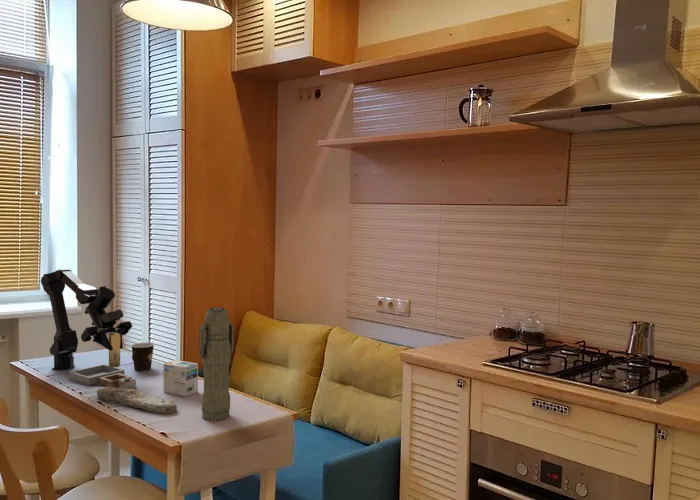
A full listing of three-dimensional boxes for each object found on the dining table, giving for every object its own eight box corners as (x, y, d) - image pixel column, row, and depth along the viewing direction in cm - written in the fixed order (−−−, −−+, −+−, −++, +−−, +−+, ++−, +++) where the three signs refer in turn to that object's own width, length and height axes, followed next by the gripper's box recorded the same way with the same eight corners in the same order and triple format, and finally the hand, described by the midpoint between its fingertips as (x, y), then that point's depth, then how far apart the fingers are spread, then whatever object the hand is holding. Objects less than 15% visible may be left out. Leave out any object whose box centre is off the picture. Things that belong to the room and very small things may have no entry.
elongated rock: (161, 422, 197) (184, 415, 206) (163, 406, 197) (185, 399, 206) (87, 397, 214) (110, 392, 222) (88, 382, 213) (111, 377, 222)
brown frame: (98, 384, 231) (98, 375, 230) (118, 379, 237) (118, 371, 237) (122, 391, 222) (122, 383, 222) (142, 386, 229) (142, 378, 229)
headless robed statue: (239, 415, 201) (240, 308, 199) (210, 424, 192) (211, 312, 190) (221, 409, 207) (222, 305, 204) (192, 417, 198) (193, 309, 195)
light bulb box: (198, 392, 225) (198, 362, 224) (186, 397, 218) (186, 367, 218) (175, 387, 229) (175, 359, 228) (162, 392, 223) (162, 363, 222)
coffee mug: (145, 365, 259) (145, 341, 258) (158, 369, 254) (158, 344, 253) (120, 370, 250) (120, 346, 249) (133, 374, 245) (133, 349, 244)
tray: (69, 379, 236) (69, 371, 235) (104, 371, 248) (104, 364, 248) (89, 385, 228) (89, 377, 228) (124, 377, 241) (124, 369, 240)
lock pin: (106, 367, 230) (106, 335, 229) (111, 364, 234) (111, 332, 233) (117, 367, 229) (117, 335, 228) (122, 364, 233) (122, 333, 232)
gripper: (85, 305, 224) (103, 340, 219) (129, 300, 240) (147, 332, 234) (73, 324, 229) (90, 358, 224) (117, 317, 245) (134, 349, 239)
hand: (116, 349), depth 230 cm, fingers closed on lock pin, 4 cm apart
